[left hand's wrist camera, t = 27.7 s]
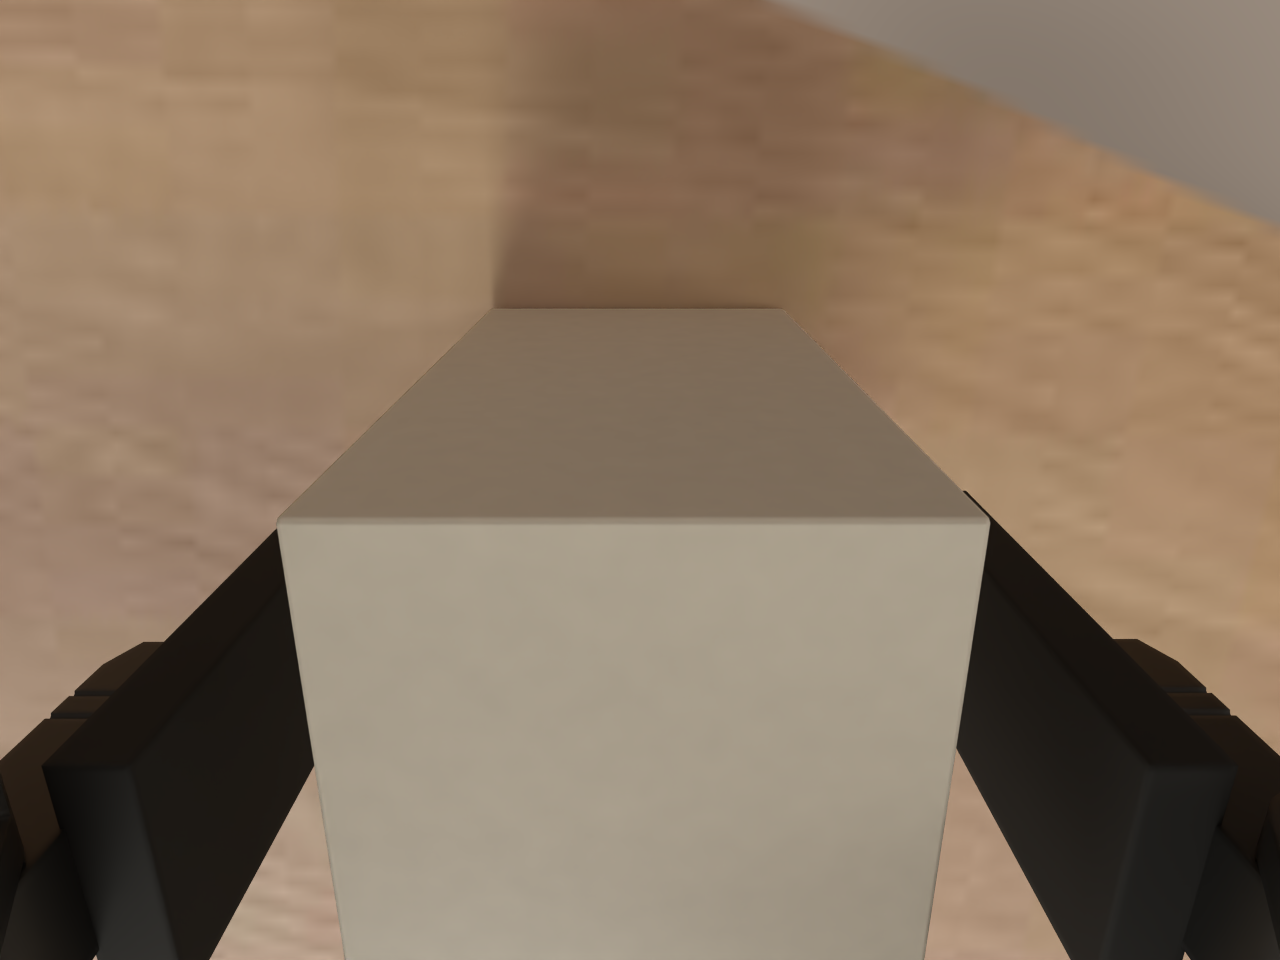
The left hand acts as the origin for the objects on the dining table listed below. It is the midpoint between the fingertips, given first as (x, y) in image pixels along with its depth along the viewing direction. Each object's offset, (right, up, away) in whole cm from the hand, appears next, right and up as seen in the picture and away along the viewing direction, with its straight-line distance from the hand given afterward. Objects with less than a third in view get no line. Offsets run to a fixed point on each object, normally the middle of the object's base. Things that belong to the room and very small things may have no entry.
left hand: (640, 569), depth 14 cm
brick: (0, +1, +3) cm, 3 cm away
